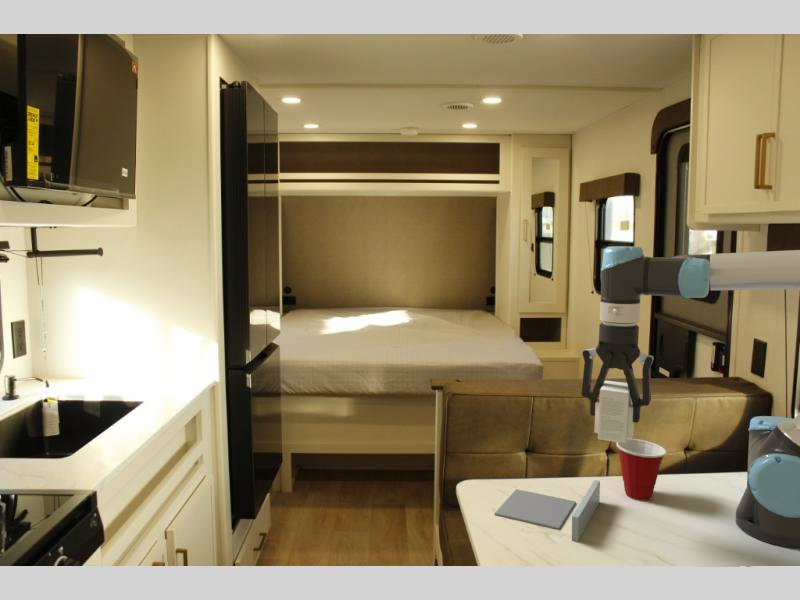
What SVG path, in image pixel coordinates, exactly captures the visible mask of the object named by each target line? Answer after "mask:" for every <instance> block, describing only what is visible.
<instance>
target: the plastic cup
mask: <svg viewBox="0 0 800 600" xmlns="http://www.w3.org/2000/svg"><path fill="white" fill-rule="evenodd" d="M615 443H616V448H617V450H618V455H619V461H620V468H621V469H620V470H621V475H622V481H623V485H624V486H623V488H624V492H625V495H626V496H627V497H628V498H630V499H633V500H637V501H649V500H651V499H652V497H653V495H654V489H655V485H656V483H657V479H658V475H659V472H660V465H662V461H663V458H664V456H666V455H667V450H666V449H665V448H664V447H663V446H661V445H659V444H657V443H655V442H650V441H648V440H644V439H637V438H632V439H628V438H627V441H626V443H620V442H615Z"/></svg>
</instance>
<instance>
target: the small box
mask: <svg viewBox="0 0 800 600" xmlns="http://www.w3.org/2000/svg"><path fill="white" fill-rule="evenodd" d="M599 399H600V400H599V425H598V433H597V439H598V440H601V441H602V440H603V441H607V442H614V443H617V442H620V443H626V441H627V439H628V438H627V436H628V417H629V406H630V405H631V404H632V399H631V396H630V390H629V388H628V384H627V382H621V381H612V380H605V381H604V384H603V385H602V387H601V389H600V394H599Z"/></svg>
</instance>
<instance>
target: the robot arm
mask: <svg viewBox="0 0 800 600" xmlns="http://www.w3.org/2000/svg"><path fill="white" fill-rule="evenodd" d="M601 263H602V265H601V269H600V272H601V275H600V276H601V279H600V280H601V282H600V283H601V284H600V285H601V286H600V304H599V305H600V306H599V320H600V321H601V323H599V325H598V326H599V327H598V342H597V345H596V347H594V348H586V349H585V350H583V351H582V356H583V360H584V365H583V373H582V374H583V376H582V385H581V387H582V388H581V397H583V398H587V399H588V400H589V401H590V404H589V405H590V407H589V414H590V416H592V417H594V427H593V428H594V432H593V433H595V434H598V425H599V400H600V389H601V387H602V385H603V384H604V382H605V381H606V378H607V375H608V373H609V371H610V370H611V369H612V370H614V369H618V370H621V371H623V375H624V377H625V380H626V383H627V384H628V388H629V390H630V396H631V399H632V401H631V405H630V406H629V417H628V436H627V439H633V436H635V435H634V432H635V431H634V430H635V423H639V422H640V419H641V408H642V407H645V406H646V407H647V406H649V405H650V403H651V401H652V391H651V390H652V387H651V386H652V381H651V380H652V377H651V375H652V372H651V371H652V370H651V369H652V368H651V367H652V364H653V362H654V361H655V360H654V359H655V358H654V355H653V354H649V355H648V354H646V353H643V352H641V349H640V348H639V334H640V333H639V331H640V327H639V325H638V324H637V323H639V322H640V317H641V315H640V314H641V296H659V297H675V298H685V299H688V300H689V299H694V298H696V299H702V298H706V297H707V296H708V294H709V293H710V292H709V291H755V290H756V291H758V290H761V291H762V290H764V291H765V290H767V291H768V290H770V291H771V290H772V291H773V290H777V291H778V290H800V249H794V250H791V249H790V250H773V251H772V250H771V251H750V252H749V251H748V252H729V253H728V252H727V253H726V252H724V253H710V254H703V253H702V254H687V253H685V254H677V255H675V256H673V257H653V256H652V257H651V256H645V254H644V250H643V248H642V247H640V246H629V245H628V246H625V245H624V246H623V245H621V246H618V245H617V246H616V245H615V246H614V245H613V246H611V245H610V246H608V247H605V249H604V250H603V257H602V262H601ZM596 354H597V356H598V358H600V360H601V362H602V365H601V368H600V370H599V371H600V372H599V374H598V376H597V379H596V382H595V384H594V387H593V389H592V391H591V386H592V385H591V384H592V377H593V367H594V359H595V358H596ZM637 359H639V360H640V361H639V363H640V365H642V369H641V370H642V372H641V373H642V398H641V395H640V392H639V389H638V388H639V387H638V384H637V381H636V377H635V374H634V368H633V367H634V366H633V363H635V361H636V360H637ZM748 432H749V434H748V450H747V451H748V453H747V454H748V455H747V456H748V457H747V473H746V478H747V481H746V488H745V489H744V492H743V494H742V497H741V498H740V501H739V503H738V505H737V507H736V511H735V524H736V526H737V527H738V528H739V529H740V530H741V531H742V532H744V533H746V534H747V535H748V536H751V537H752V538H755V539H758V540H760V541H761V542H762V541H763V542H766V543H768V544H772V545H775V546H779V547H780V546H781V547H786V548H793V549H794V548H796V549H800V411H799V412H798V414H797V415H796V416H795V417H794V418H791V417H783V416H769V415H761V416H760V415H758V416H754V417H752V418H751V419H750V422H749V428H748Z"/></svg>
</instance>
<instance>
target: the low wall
mask: <svg viewBox="0 0 800 600" xmlns="http://www.w3.org/2000/svg"><path fill="white" fill-rule="evenodd" d="M600 487H601V481H600V480H597V479H594V480H593V481H592V483H591V485H590V486H589V488H588V489H587V491H586V493H585V495H584V496H583V498H582V499H581V501H580V503H579V505H578V506H577V508H576V510H574V512H573V514H572V516H571V541H573V542H577V543H578V542H579V541H580V539H581V537H582V535H583V534H584V531H585V530H586V528H587V526H588V524H589V523H590V521H591V519H592V517H593V515H594V513H595V511H596V509H597V508H598V505H599V503H600V499H601V498H600V497H601V496H600V494H601V492H600V491H601V490H600V489H601V488H600Z"/></svg>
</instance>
